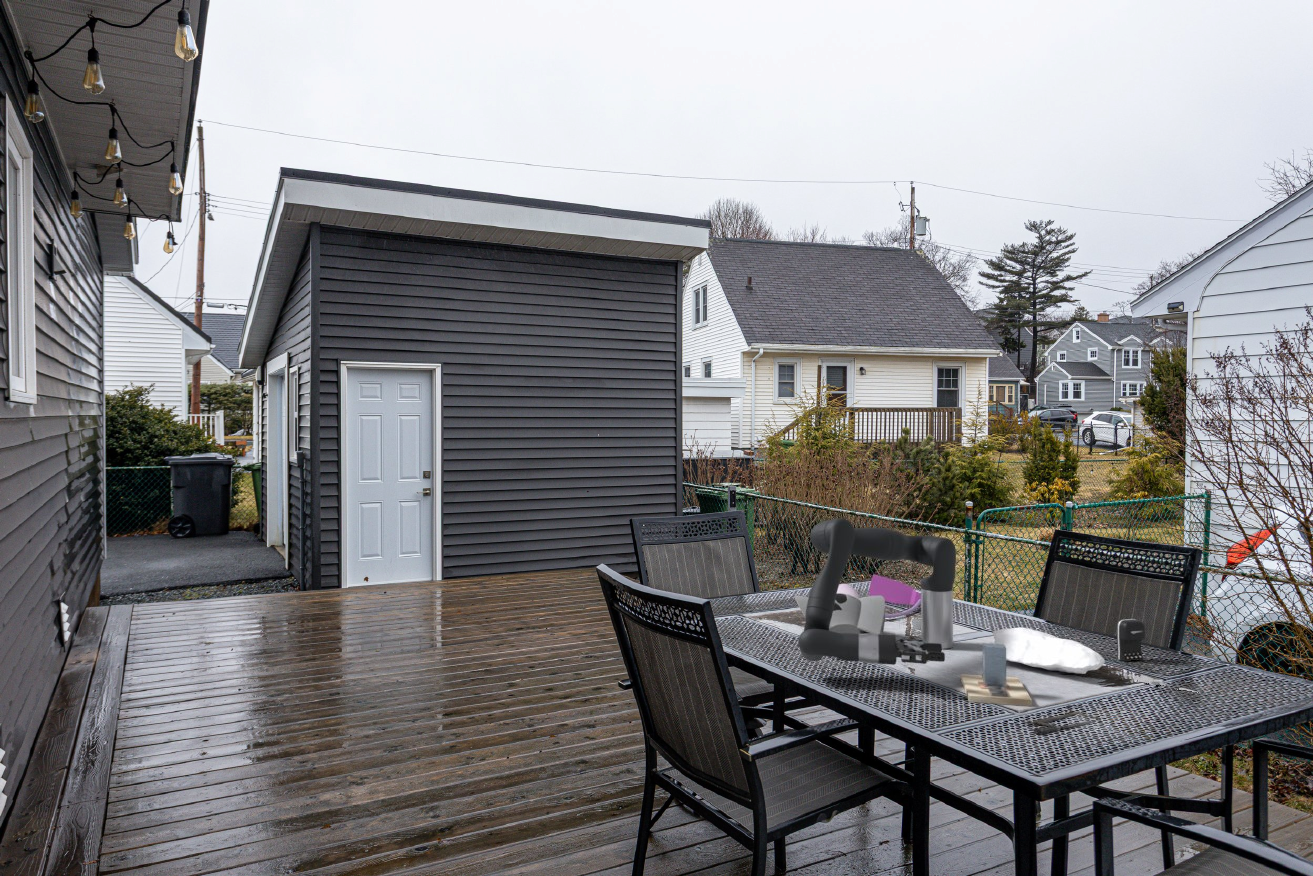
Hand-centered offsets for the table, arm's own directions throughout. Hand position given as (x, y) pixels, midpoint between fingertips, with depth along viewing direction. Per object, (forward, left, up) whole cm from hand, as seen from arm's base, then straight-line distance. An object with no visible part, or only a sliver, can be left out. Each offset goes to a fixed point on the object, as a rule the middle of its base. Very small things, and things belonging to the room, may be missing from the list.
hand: (943, 652), depth 204 cm
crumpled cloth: (-28, +30, -10) cm, 42 cm away
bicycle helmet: (-43, -27, -10) cm, 52 cm away
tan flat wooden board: (0, +12, -9) cm, 15 cm away
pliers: (-13, +54, -10) cm, 56 cm away
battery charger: (-39, +54, -10) cm, 67 cm away
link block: (0, +12, -8) cm, 14 cm away
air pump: (-88, -15, -10) cm, 90 cm away
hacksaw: (+17, +23, -10) cm, 30 cm away
